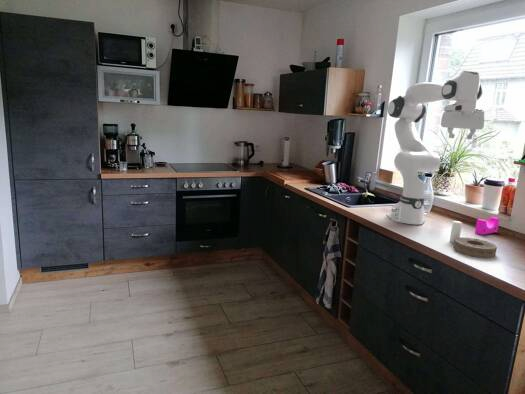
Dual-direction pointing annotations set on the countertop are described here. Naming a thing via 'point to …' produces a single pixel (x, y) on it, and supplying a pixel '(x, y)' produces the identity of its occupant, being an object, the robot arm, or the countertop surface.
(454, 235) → the dowel
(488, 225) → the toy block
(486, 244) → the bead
